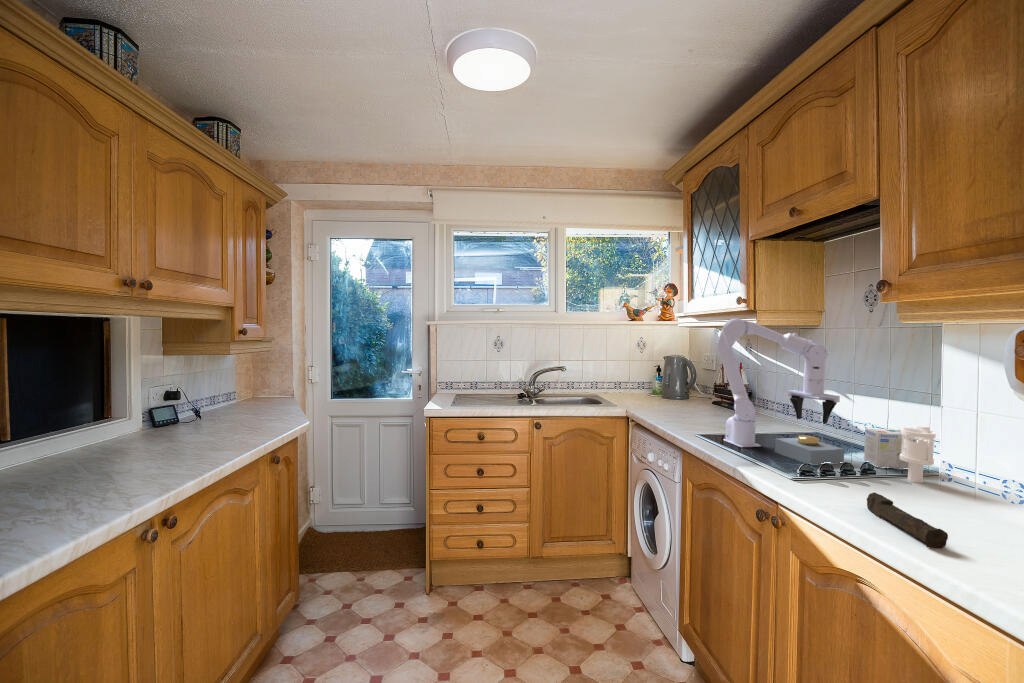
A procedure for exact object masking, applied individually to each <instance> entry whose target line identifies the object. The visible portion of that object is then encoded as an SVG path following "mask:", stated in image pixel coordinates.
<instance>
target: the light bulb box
mask: <svg viewBox="0 0 1024 683" xmlns="http://www.w3.org/2000/svg"><path fill="white" fill-rule="evenodd" d="M864 430H865V432H864V433H865V434H864V451H863V452H864V456H863V461H864V460H865V461H869V462H871V463H873V464H874V465H876V466H878V467H889V468H908V466H909V462H906V461H903V460H901V459H899V456H900V454H901V446H902V433H901V429H891V428H865V429H864ZM907 436H908V435H907ZM913 442H917V443H918V440H914V439H913Z"/></svg>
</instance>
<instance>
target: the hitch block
mask: <svg viewBox="0 0 1024 683" xmlns="http://www.w3.org/2000/svg"><path fill="white" fill-rule="evenodd" d="M774 453H776V454H778V455H781V456H784V457H786V458H789V459H792V460H794V459H795V460H794V461H797V462H800V463H802V462H803V463H802V464H805V463H812V464H821V463H824V462H831V463H834V464H833V465H836V464H835V463H840V462H844V461H845V449H844V448H842V447H839V446H835V445H833V444H830V443H825V442H823V441H820V440H819V446H807V445H802V444H799V443H798V437H786V438H785V437H784V438H780V437H779V438H775V439H774ZM844 463H845V462H844Z"/></svg>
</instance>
